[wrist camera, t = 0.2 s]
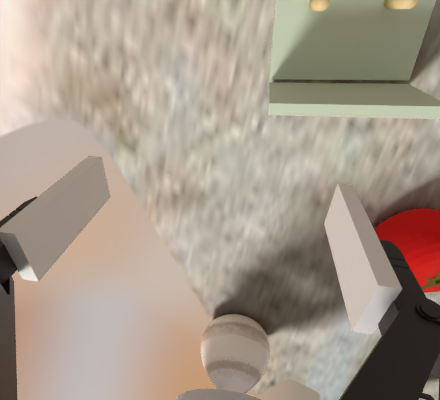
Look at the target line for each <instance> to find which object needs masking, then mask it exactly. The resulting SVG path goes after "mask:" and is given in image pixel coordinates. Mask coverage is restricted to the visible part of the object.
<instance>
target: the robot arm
mask: <svg viewBox="0 0 440 400" xmlns="http://www.w3.org/2000/svg"><path fill="white" fill-rule="evenodd" d="M109 198H110V193H109V189H108V184H107V179H106V175H105V171H104V166H103V162H102V157H95V156H88V157H87V158H86V159H84V160H83V161H82V162H81V163H79V164H78V165H77V166H76V167H75V168H73V169H72V170H71V171H70V172H68V173H67V174H66V175H65V176H63V177H62V178H61V179H60V180H58V181H57V182H56V183H55V184H54V185H52V186H51V187H50V188H49V189H47V190H46V191H45V192H44V193H43V194H41V195H40V196H39V197H34V198H32V199H30V200H28V201H26V202H24V203H23V204H22V205H20V206H19V207H18V208H17V209H16V210H14V211H13V212H11V213H10V214H9V216H6V217H5V218H4V219H3V220H1V221H0V400H17V375H16V340H15V305H14V281H13V278H12V277H11V276H12V275H13V274H14V273H15V271H16V270H18V272H19V274H20V276H21V277H22V279H25V280H32V281H40V279H41V278H42V277H43V276H44V275H45V274H46V272H47V271H48V270H49V269H50V268H51V266H52V265H53V264H54V263H55V262H56V260H57V259H58V258H59V257H60V256H61V255H62V253H63V252H64V251H65V250H66V249H67V248H68V246H69V245H70V244H71V243H72V242H73V241H74V239H75V238H76V237H77V236H78V235H79V233H80V232H81V231H82V230H83V229H84V227H85V226H86V225H87V224H88V223H89V222H90V220H91V219H92V218H93V217H94V216H95V215H96V213H97V212H98V211H99V210H100V209H101V208H102V206H103V205H104V204H105V203H106V202H107V200H108V199H109ZM324 225H325V229H326V233H327V236H328V240H329V244H330V248H331V252H332V256H333V260H334V264H335V268H336V271H337V275H338V279H339V283H340V287H341V291H342V295H343V299H344V302H345V306H346V310H347V314H348V318H349V322H350V326H351V330H352V331H354V332H360V333H367V334H373V333H374V331H375V330H376V328H377V327H378V326H379V329H380V332H381V335H382V337H381V338H380V339H379V341H378V342H377V344H376V345H375V347H374V348H373V349H372V351H371V353H370V354H369V356H368V357H367V359H366V360H365V362H364V363H363V365H362V366H361V368H360V369H359V371H358V372H357V374H356V375H355V377H354V378H353V380H352V381H351V383H350V384H349V386H348V387H347V389H346V390H345V391H344V393H343V394H342V396H341V397H340V399H339V400H418V399H419V397H420V394H421V392H422V390H423V388H424V386H425V384H426V381H427V379H428V377H429V375H430V374H431V375H433V376H436V377H438V378H439V400H440V306H439V305H438V304H437V303H435V302H434V301H432V300H430V299H427V298H426V296H425V294H424V292H423V290H422V289H421V287H420V285H419V283H418V281H417V279H416V278H415V276H414V274H413V272H412V270H411V269H410V267H409V265H408V263H407V262H406V261H405V260H406V259H405V258H404V256H403V254H402V252H401V250H400V249H399V248H398V247H397V246H396V245H395V244H393V243H392V242H391V241H386V240H379V239H378V237H377V235H376V232H375V230H374V228H373V226H372V224H371V222H370V220H369V218H368V216H367V214H366V212H365V209H364V207H363V205H362V203H361V201H360V199H359V197H358V195H357V193H356V191H355V189H354V186H353V185H349V184H340V183H338V184H337V187H336V190H335V193H334V196H333V199H332V202H331V205H330V208H329V211H328V214H327V217H326V220H325V223H324Z"/></svg>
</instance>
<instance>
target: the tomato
mask: <svg viewBox="0 0 440 400" xmlns="http://www.w3.org/2000/svg"><path fill="white" fill-rule="evenodd" d="M374 230H375V232H376V235H377V237H378V239H379V240H386V241H391V242H392V243H393V244H395V245H396V246H397V247H398V248H399V249H400V250H401V252H402V254H403V256H404V258H405V259H406V260H405V261H406V262H407V263H408V265H409V267H410V269H411V270H412V272H413V274H414V276H415V278H416V279H417V281H418V283H419V285H420V287H421V289H422V290H423V292H436V291H440V210H436V209H426V208H418V209H410V210H406V211H403V212H400V213H398V214H396V215H394V216H392V217H390V218H388V219H386V220H384V221H383V222H381V223H380V224H379V225H378V226H377V227H376V228H375V229H374Z"/></svg>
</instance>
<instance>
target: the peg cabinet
mask: <svg viewBox="0 0 440 400" xmlns="http://www.w3.org/2000/svg"><path fill="white" fill-rule="evenodd" d="M435 3H436V0H275V10H274V23H273V37H272V50H271V64H270V77H269V79H292V80H410V77H411V74H412V71H413V68H414V65H415V62H416V59H417V56H418V53H419V50H420V47H421V44H422V41H423V38H424V35H425V33H426V30H427V27H428V24H429V21H430V18H431V15H432V12H433V9H434V6H435ZM268 115H289V116H331V117H373V118H415V119H440V100H438V99H436V98H434V97H432V96H430V95H428V94H426V93H425V92H423V91H421V90H419V89H417V88H415V87H413V86H411V85H409V84H374V83H269V93H268Z"/></svg>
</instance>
